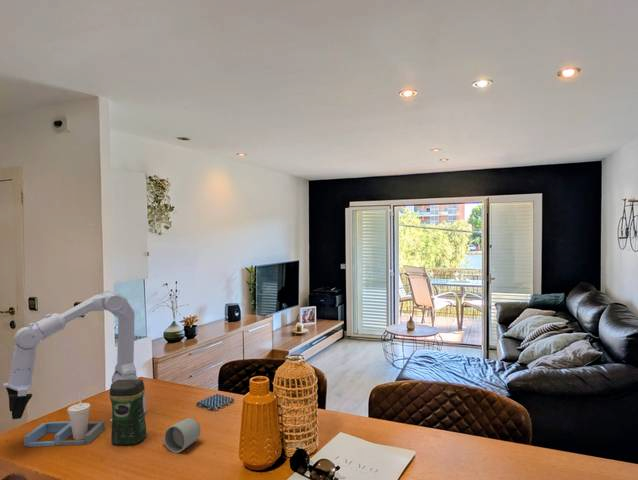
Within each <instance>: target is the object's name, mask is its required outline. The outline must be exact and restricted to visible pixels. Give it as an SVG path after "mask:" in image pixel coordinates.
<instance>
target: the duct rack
mask: <svg viewBox="0 0 638 480" xmlns="http://www.w3.org/2000/svg"><path fill="white" fill-rule="evenodd" d="M105 424H106V423H105V421H88V430H87V434H86V435H85V438H84V439H81V440H74V439H70V440H67V439H68V438H69V437H71V436H73V434H72V428H71V423H70V420H68V421H67V420H66V421H64V420H63V421H62V420H61V421H48V422H42V423H41V424H39V425H37V426H36V427H34V429H32V430H31V431H30V432H28V433H27V434H26V435H24V436H23V438H24V439H23V441H24V447H28V448H30V447H31V448H34V447H54V446H62V447H63V446H81V445H82V446H84V445H88V444H89V445H90V444H91V443H92V442H93V441H94V440H95V439H96V438H97V437H99V435H100V434H102V432H104V431H105V430H106V425H105ZM49 433H51V434H52V433H53V434H54V433H55V434H54V440H51V441H49V440H48V441H47V440H45V441H38V440H39V439H40V438H42V437H43V436H44V435H47V434H49Z"/></svg>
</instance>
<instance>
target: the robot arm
mask: <svg viewBox="0 0 638 480" xmlns="http://www.w3.org/2000/svg"><path fill="white" fill-rule="evenodd" d="M104 310H105V311H108V312H109V313H111V314H112V315H114V317H116V318H117V321H118V323H117V355H116V356H117V359H116V360H117V361H116V364H115V367H114V371H113V374H112V377H111V384H112V383H114V382H115V381H117V380H138V379H139V378H138V376H137V369H136V367H135V364H134V363H135V362H134V355H135V352H134V351H135V350H134V349H135V317H136V315H135V310H134V309H133V307H132V306H131V305H130V303H129V302H128V298H126V297H125V296H123V295H122V294H121V293H115V292H113V291H110V290H105V291H103V292H101V293H100V294H95V295H93V296H91V297H90V298H88V299H86V300H85V301H81V303H79V304H76V305H75V306H73V307H71V308H70V309H68V310H66V311H64V312H62V313H55V312H54V313H52V314H51V313H47V314H46V315H45V317H44V318H42V319H40V320H38V321H36V322H34V323H33V322H30V323H28V324H29V326H25V327H24V326H23V327H22V328H19V329H18V330H17V331H16V332H15V334H14V336H13V341H14V342H15V344H14V348H13V353H12V358H11V365H10V371H9V379H8V382H6V383H5V382H4V383H3V385H2V386H3V387H4V388H5V390H6V391H7V394H8V406H9V412H11V419H12V420H19V419H20V420H21V419H22V417H23V416H24V412H25V410H26V407H27V404H28V403H29V401H30V400H31V399H32V397H33V394H32V393H27V392H28V389H30V387H32V385H33V374H34V370H35V362H36V355H37V346H39V344H40V342H41V341H43V340H45V339H47V338H49V337H51V336H53V335H54V334H56V333H59V332H60V331H62V330H65V328H66V325H67V323H69V322H71V321H73V320H76V319H77V318H80V317H82V316H84V315H86V314H89V313H90V312H104ZM143 409H144V414H146V412H147V409H146V394H145V392H144V395H143ZM109 422H111V423H112V418H111V419H110V420H109Z"/></svg>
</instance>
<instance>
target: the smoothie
mask: <svg viewBox="0 0 638 480" xmlns="http://www.w3.org/2000/svg"><path fill="white" fill-rule="evenodd" d="M78 398H79V399H78V401H79V402H78V403H75V404H72V405H71V406H69V407H68V408H67V410H66V411H67V414H68V417H69V421H70V423H71V428H72V440H85V435H86V434H87V433H88V431H87V430H88V422H89V417H90V410H91V404H90V403H89V402H82V393H81V392H79V393H78Z"/></svg>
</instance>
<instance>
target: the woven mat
mask: <svg viewBox="0 0 638 480" xmlns="http://www.w3.org/2000/svg"><path fill="white" fill-rule="evenodd" d="M234 403H235V399H234V397H231V396H227V395H225V396H224V394H221V393H220V394H219V393H215V394H212V395H209V396H208V397H206V398H203V399H201V400H199V401H197V402H196V404H195V406H196V407H197V408H201V409H203V410H206V411H210V412H213V413H217V411H220V410H222V409H223V408H225V407H227V406H230V405H232V404H234Z"/></svg>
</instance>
